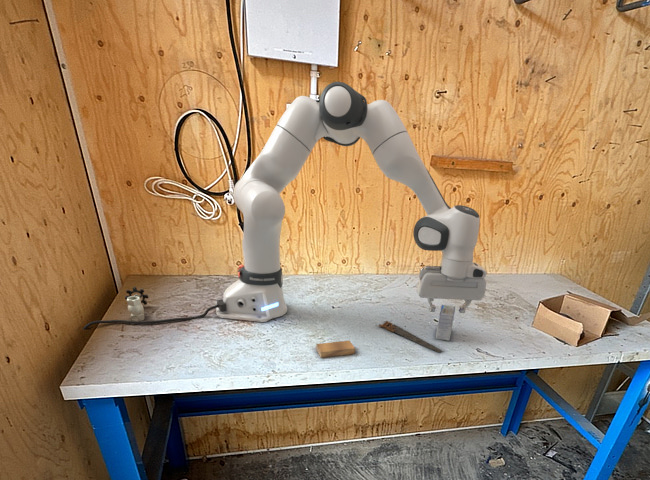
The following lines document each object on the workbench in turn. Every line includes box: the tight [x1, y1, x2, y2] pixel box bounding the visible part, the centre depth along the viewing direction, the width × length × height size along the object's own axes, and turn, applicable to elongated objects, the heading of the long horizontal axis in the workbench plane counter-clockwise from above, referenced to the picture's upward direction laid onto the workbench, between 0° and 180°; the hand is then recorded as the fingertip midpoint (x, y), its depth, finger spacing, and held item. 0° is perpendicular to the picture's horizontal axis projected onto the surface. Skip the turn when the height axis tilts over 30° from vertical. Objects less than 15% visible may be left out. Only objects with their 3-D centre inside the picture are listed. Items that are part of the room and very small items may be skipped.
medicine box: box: [435, 304, 456, 342], centre depth 136 cm, size 8×4×9 cm, turn 169°
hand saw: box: [378, 320, 443, 353], centre depth 135 cm, size 24×5×1 cm, turn 48°
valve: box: [124, 286, 149, 321], centre depth 132 cm, size 7×7×12 cm
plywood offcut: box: [315, 340, 356, 359], centre depth 123 cm, size 10×5×2 cm, turn 112°
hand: (446, 311), depth 133 cm, fingers open, 8 cm apart
